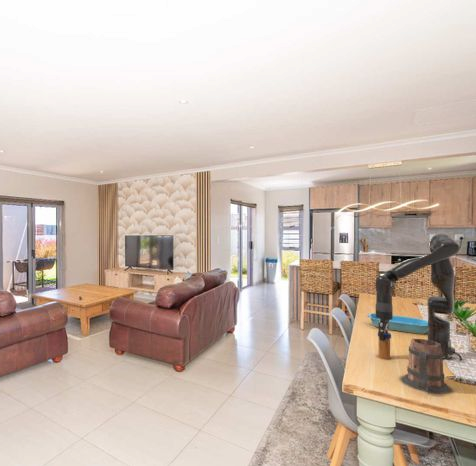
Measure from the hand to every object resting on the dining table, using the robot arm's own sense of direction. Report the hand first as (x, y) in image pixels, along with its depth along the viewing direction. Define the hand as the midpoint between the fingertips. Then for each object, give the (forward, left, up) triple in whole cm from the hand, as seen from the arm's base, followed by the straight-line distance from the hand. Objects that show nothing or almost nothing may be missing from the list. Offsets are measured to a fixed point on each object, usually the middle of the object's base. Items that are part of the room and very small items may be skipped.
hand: (383, 338), depth 186 cm
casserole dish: (+15, -70, -11) cm, 72 cm away
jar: (0, 0, -10) cm, 10 cm away
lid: (0, 0, +3) cm, 3 cm away
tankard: (-24, +25, -11) cm, 36 cm away
